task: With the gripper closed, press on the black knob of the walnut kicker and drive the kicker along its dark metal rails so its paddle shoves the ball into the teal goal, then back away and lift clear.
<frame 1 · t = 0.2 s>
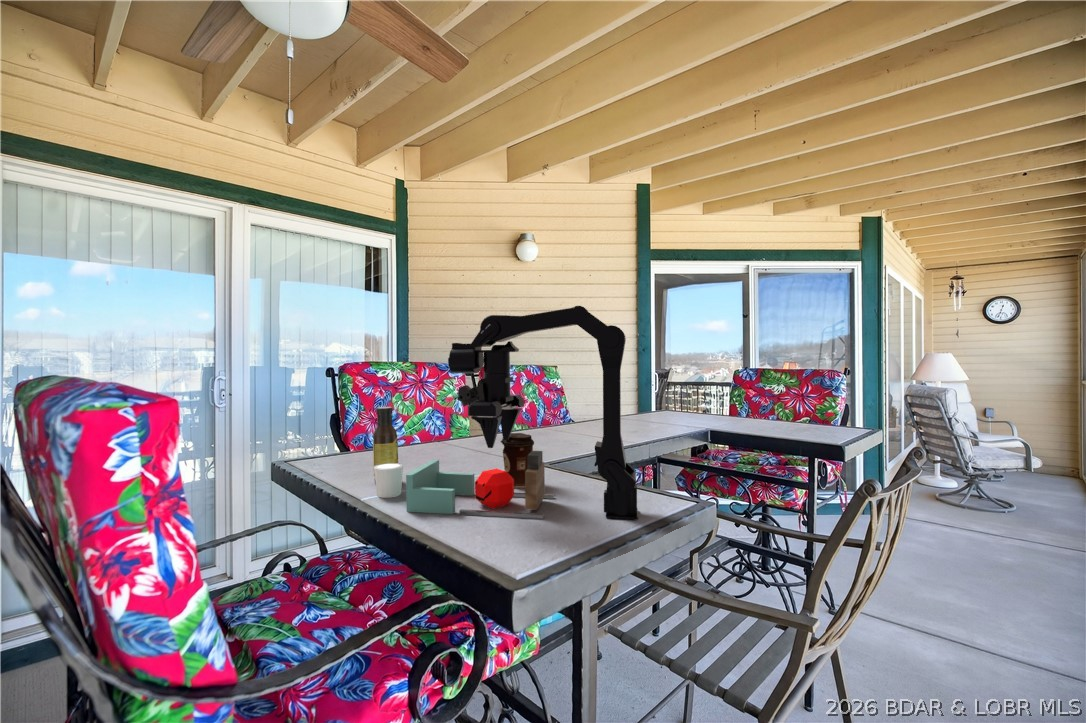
hand: (498, 443, 110), 14 cm above the table, tool pointing down, fingers open, 9 cm apart
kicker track: (509, 505, 112), on the table
goal: (445, 502, 114), on the table
sauce bottle: (386, 483, 132), on the table
coffee cup: (517, 485, 129), on the table
kicker: (535, 477, 110), point 7 cm above the table, slide at 0.0 cm
white cup: (389, 495, 121), on the table
ball: (494, 505, 112), on the table
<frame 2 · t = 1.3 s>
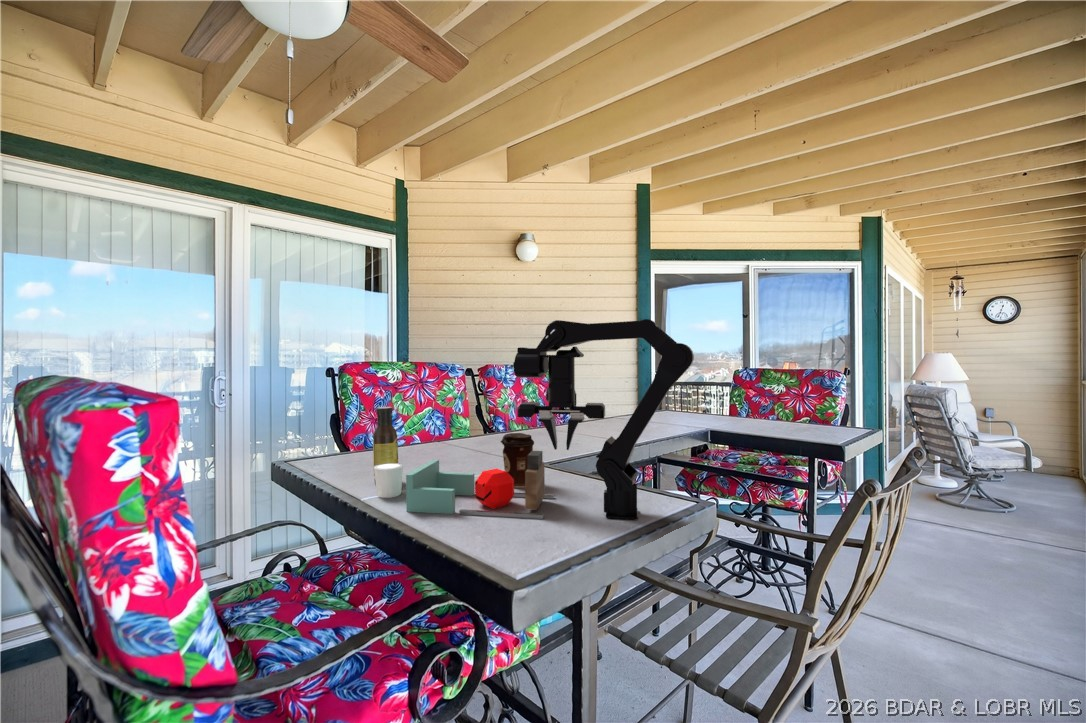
hand: (561, 449, 109), 13 cm above the table, tool pointing down, fingers closed
nothing on the table moved.
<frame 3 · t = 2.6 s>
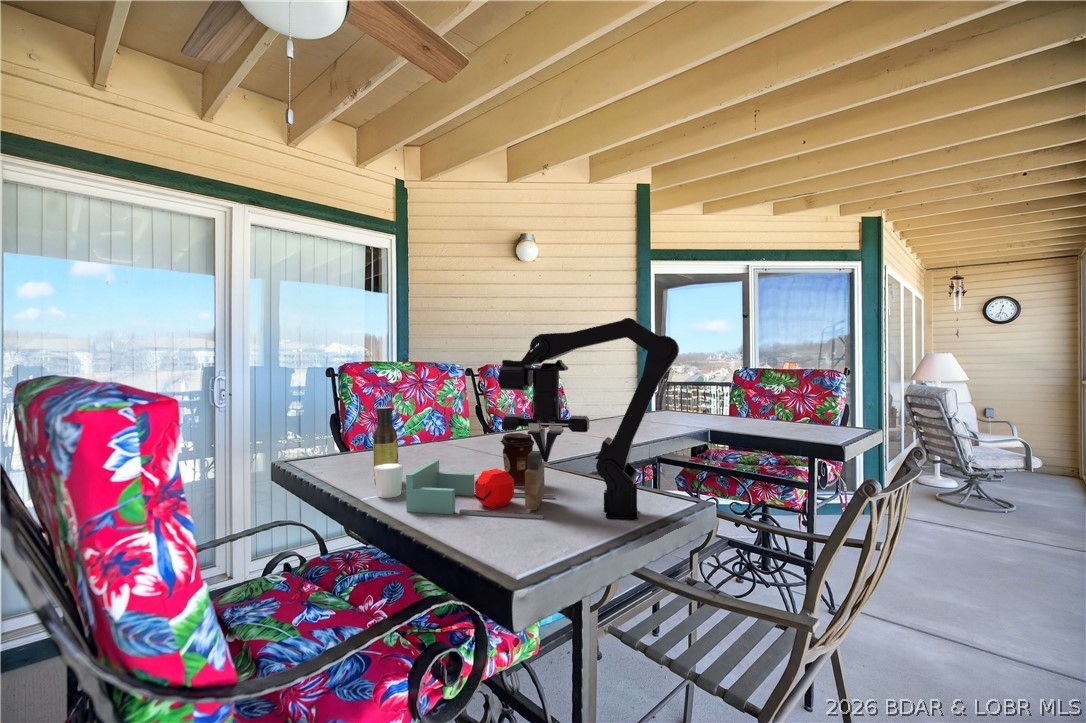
hand: (545, 461, 110), 10 cm above the table, tool pointing down, fingers closed
kicker: (535, 477, 110), point 7 cm above the table, slide at 0.0 cm, touching gripper
everything else where it was.
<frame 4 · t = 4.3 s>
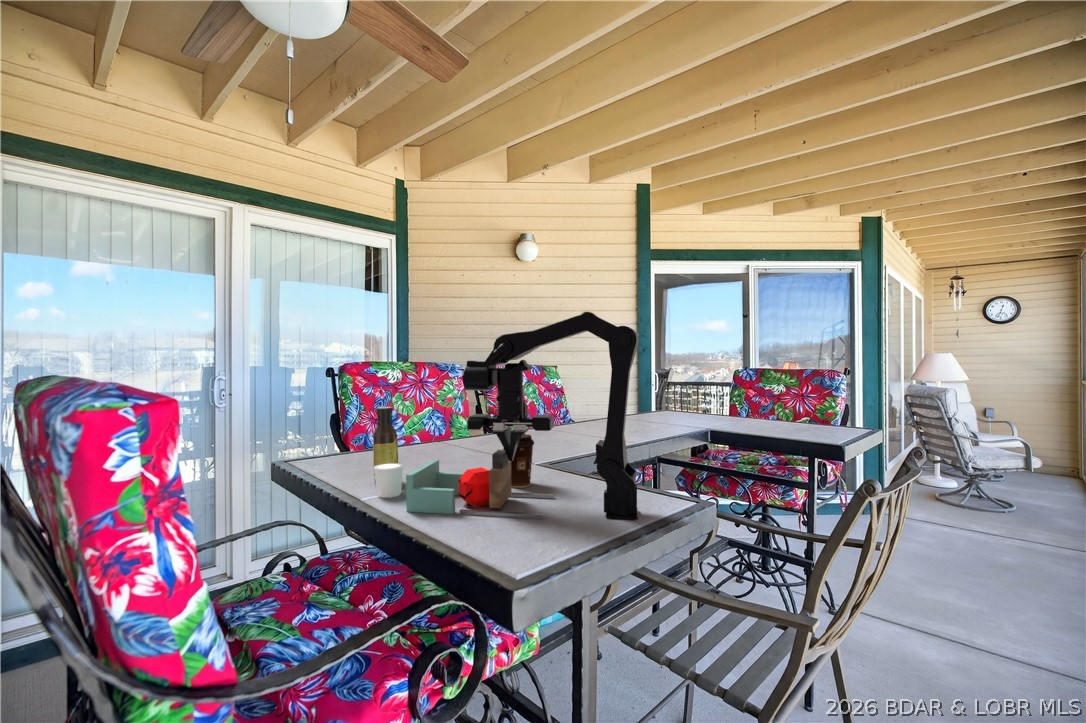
hand: (511, 460, 111), 10 cm above the table, tool pointing down, fingers closed
kicker: (500, 476, 112), point 7 cm above the table, slide at 7.9 cm, touching gripper, ball
ball: (478, 504, 113), on the table, touching kicker
everything else where it was.
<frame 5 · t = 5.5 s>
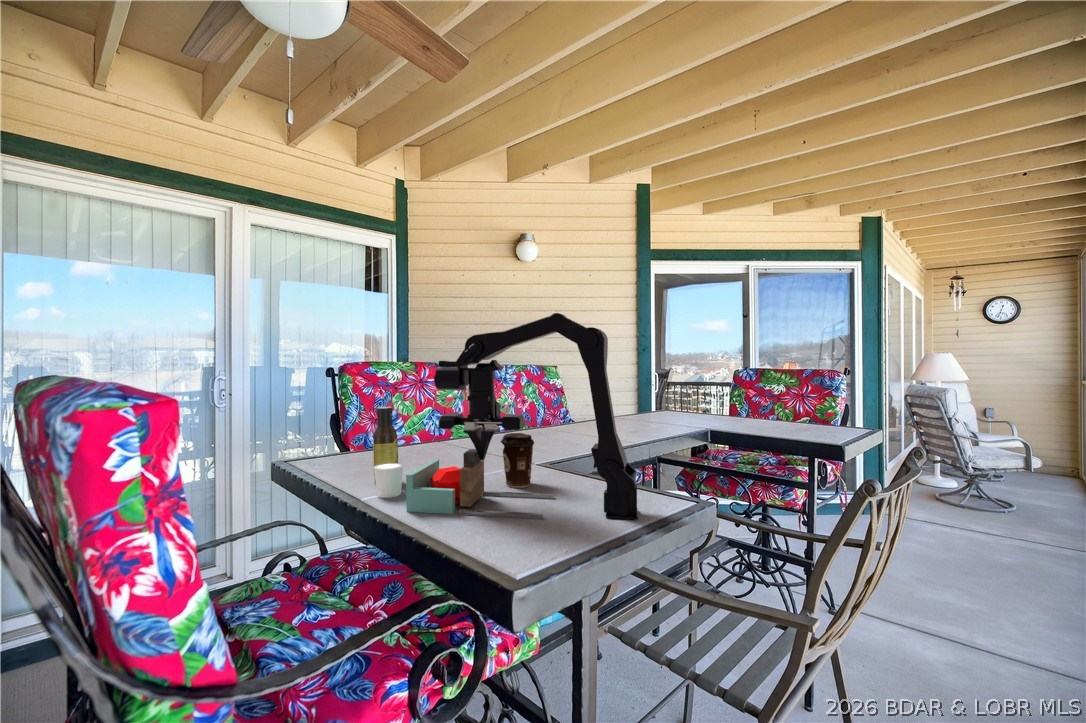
hand: (482, 459, 113), 10 cm above the table, tool pointing down, fingers closed
kicker: (472, 475, 113), point 7 cm above the table, slide at 14.5 cm, touching gripper, ball
ball: (450, 502, 115), on the table, touching kicker
everything else where it was.
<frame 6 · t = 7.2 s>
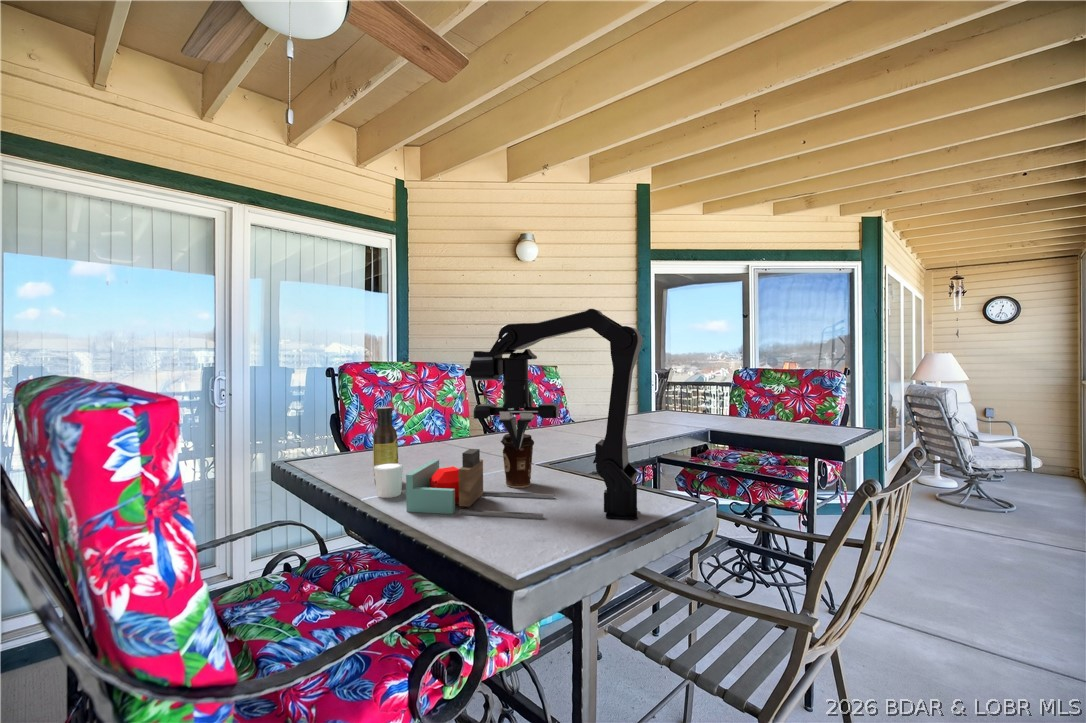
hand: (517, 449, 113), 12 cm above the table, tool pointing down, fingers closed
kicker: (471, 475, 113), point 7 cm above the table, slide at 14.8 cm
ball: (449, 503, 115), on the table
everything else where it was.
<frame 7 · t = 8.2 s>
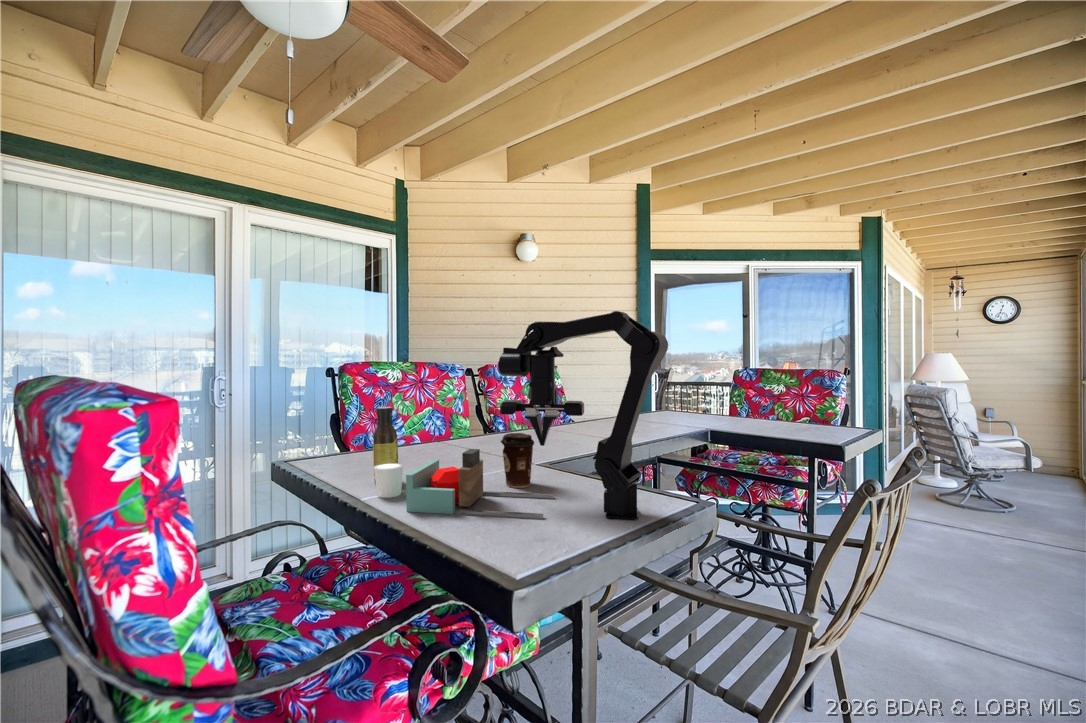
hand: (542, 445, 114), 13 cm above the table, tool pointing down, fingers closed
nothing on the table moved.
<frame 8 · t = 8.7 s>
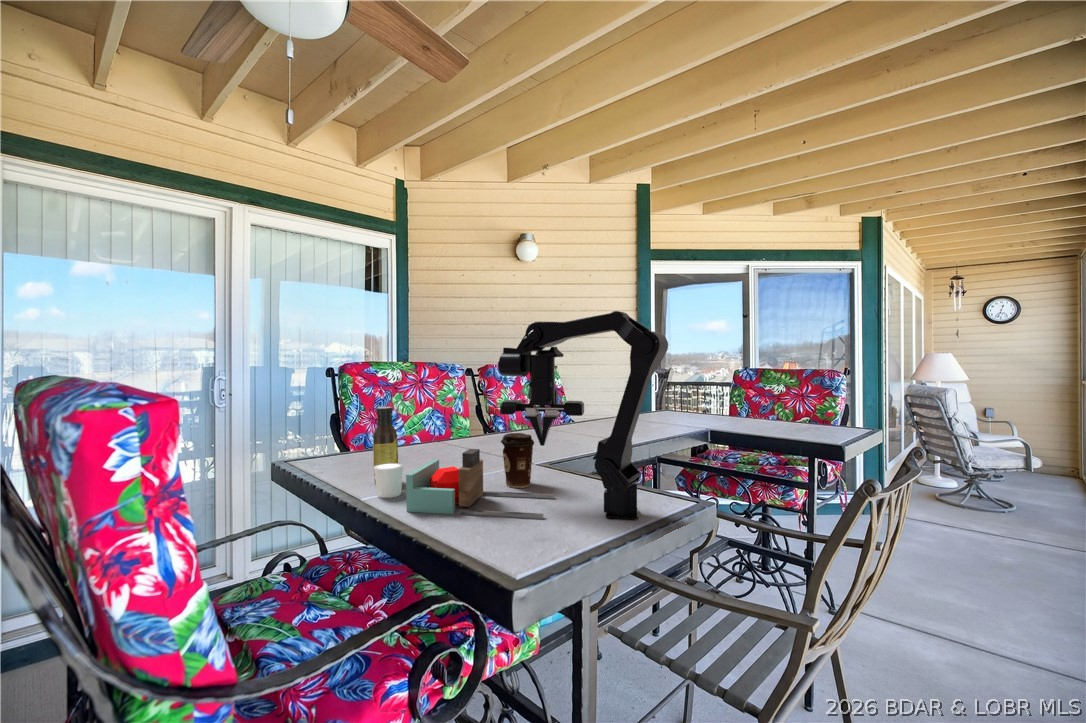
hand: (542, 445, 114), 13 cm above the table, tool pointing down, fingers closed
nothing on the table moved.
at the end: ball inside the target area (0.4 cm from its centre), on the table; kicker slide at 14.8 cm; ball tilted 0° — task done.
